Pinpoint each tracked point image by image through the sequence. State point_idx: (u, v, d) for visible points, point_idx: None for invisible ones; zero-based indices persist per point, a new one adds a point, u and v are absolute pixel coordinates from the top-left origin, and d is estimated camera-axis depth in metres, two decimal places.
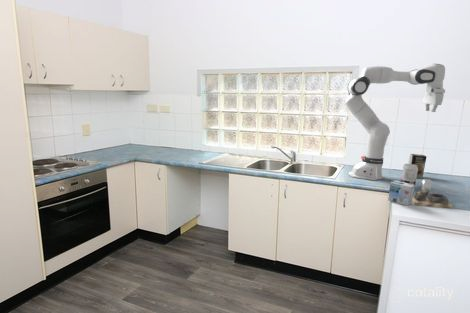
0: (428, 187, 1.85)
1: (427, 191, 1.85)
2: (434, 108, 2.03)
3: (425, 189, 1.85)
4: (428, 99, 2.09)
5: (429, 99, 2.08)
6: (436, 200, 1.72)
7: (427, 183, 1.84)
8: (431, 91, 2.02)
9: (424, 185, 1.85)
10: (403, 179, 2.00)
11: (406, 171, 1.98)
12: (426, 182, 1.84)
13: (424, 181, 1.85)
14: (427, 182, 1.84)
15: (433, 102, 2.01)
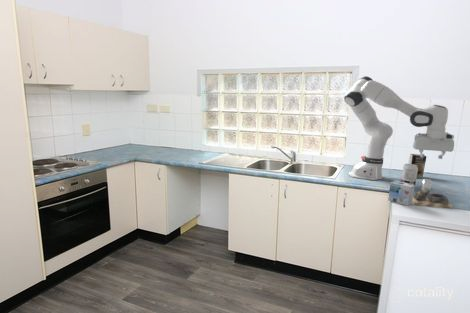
0: (428, 187, 1.85)
1: (427, 191, 1.85)
2: None
3: (425, 189, 1.85)
4: (431, 145, 1.80)
5: (434, 145, 1.79)
6: (436, 200, 1.72)
7: (427, 183, 1.84)
8: (447, 137, 1.76)
9: (424, 185, 1.85)
10: (403, 179, 2.00)
11: (406, 171, 1.98)
12: (426, 182, 1.84)
13: (424, 181, 1.85)
14: (427, 182, 1.84)
15: (447, 149, 1.79)
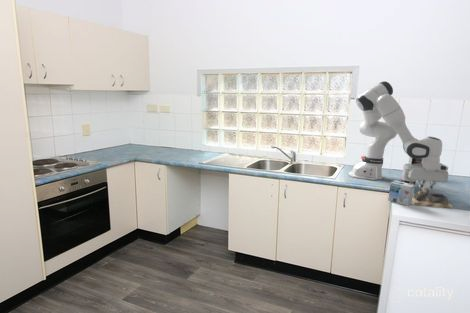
0: (428, 187, 1.85)
1: (427, 191, 1.85)
2: None
3: (425, 189, 1.85)
4: (426, 175, 1.84)
5: (429, 176, 1.83)
6: (436, 200, 1.72)
7: (427, 183, 1.84)
8: (441, 168, 1.80)
9: (424, 185, 1.85)
10: (403, 179, 2.00)
11: (406, 171, 1.98)
12: (426, 182, 1.84)
13: (424, 181, 1.85)
14: (427, 182, 1.84)
15: (441, 179, 1.83)
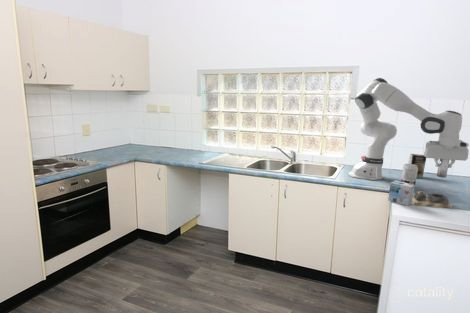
0: (446, 166, 1.69)
1: (445, 171, 1.70)
2: None
3: (443, 169, 1.70)
4: (444, 153, 1.68)
5: (447, 153, 1.68)
6: (436, 200, 1.72)
7: (445, 162, 1.69)
8: (461, 145, 1.65)
9: (441, 164, 1.70)
10: (403, 179, 2.00)
11: (406, 171, 1.98)
12: (444, 161, 1.69)
13: (441, 160, 1.70)
14: (445, 161, 1.69)
15: (461, 157, 1.67)
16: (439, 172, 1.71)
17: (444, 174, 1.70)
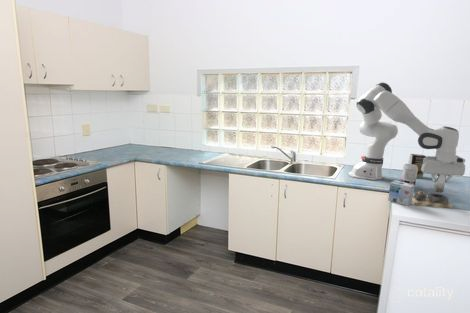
0: (443, 181, 1.71)
1: (442, 186, 1.72)
2: None
3: (439, 184, 1.72)
4: (441, 169, 1.70)
5: (444, 169, 1.70)
6: (436, 200, 1.72)
7: (442, 177, 1.71)
8: (457, 161, 1.66)
9: (438, 179, 1.72)
10: (403, 179, 2.00)
11: (406, 171, 1.98)
12: (441, 176, 1.71)
13: (438, 175, 1.72)
14: (442, 176, 1.71)
15: (457, 173, 1.69)
16: (436, 187, 1.73)
17: (441, 189, 1.72)
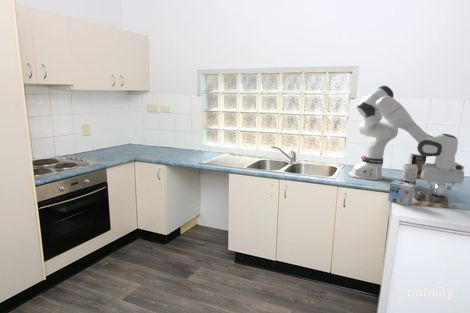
0: (442, 191, 1.72)
1: (440, 196, 1.73)
2: None
3: (438, 194, 1.73)
4: (440, 176, 1.71)
5: (443, 176, 1.71)
6: (436, 200, 1.72)
7: (441, 187, 1.72)
8: (456, 168, 1.67)
9: (437, 189, 1.73)
10: (403, 179, 2.00)
11: (406, 171, 1.98)
12: (440, 186, 1.72)
13: (437, 185, 1.73)
14: (441, 186, 1.72)
15: (457, 180, 1.70)
16: None
17: None
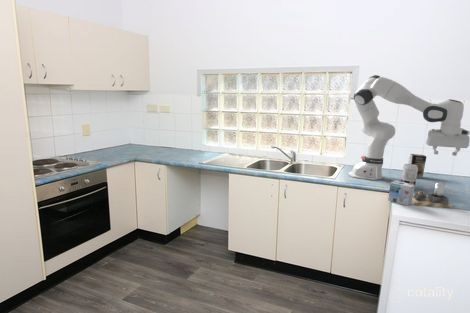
0: (441, 191, 1.72)
1: (440, 196, 1.73)
2: None
3: (438, 194, 1.73)
4: (446, 141, 1.73)
5: (449, 141, 1.72)
6: (436, 200, 1.72)
7: (440, 187, 1.72)
8: (462, 133, 1.69)
9: (437, 189, 1.73)
10: (403, 179, 2.00)
11: (406, 171, 1.98)
12: (439, 186, 1.72)
13: (437, 185, 1.73)
14: (440, 186, 1.72)
15: (462, 145, 1.72)
16: None
17: None
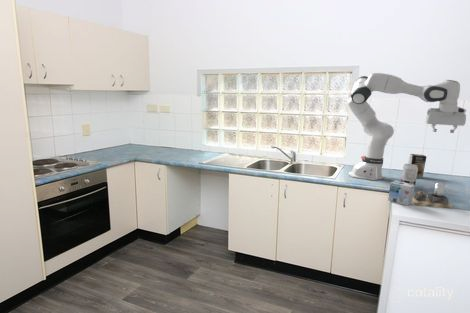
0: (441, 191, 1.72)
1: (440, 196, 1.73)
2: None
3: (438, 194, 1.73)
4: (444, 119, 1.85)
5: (447, 119, 1.85)
6: (436, 200, 1.72)
7: (440, 187, 1.72)
8: (459, 111, 1.81)
9: (437, 189, 1.73)
10: (403, 179, 2.00)
11: (406, 171, 1.98)
12: (439, 186, 1.72)
13: (437, 185, 1.73)
14: (440, 186, 1.72)
15: (459, 123, 1.84)
16: None
17: None
